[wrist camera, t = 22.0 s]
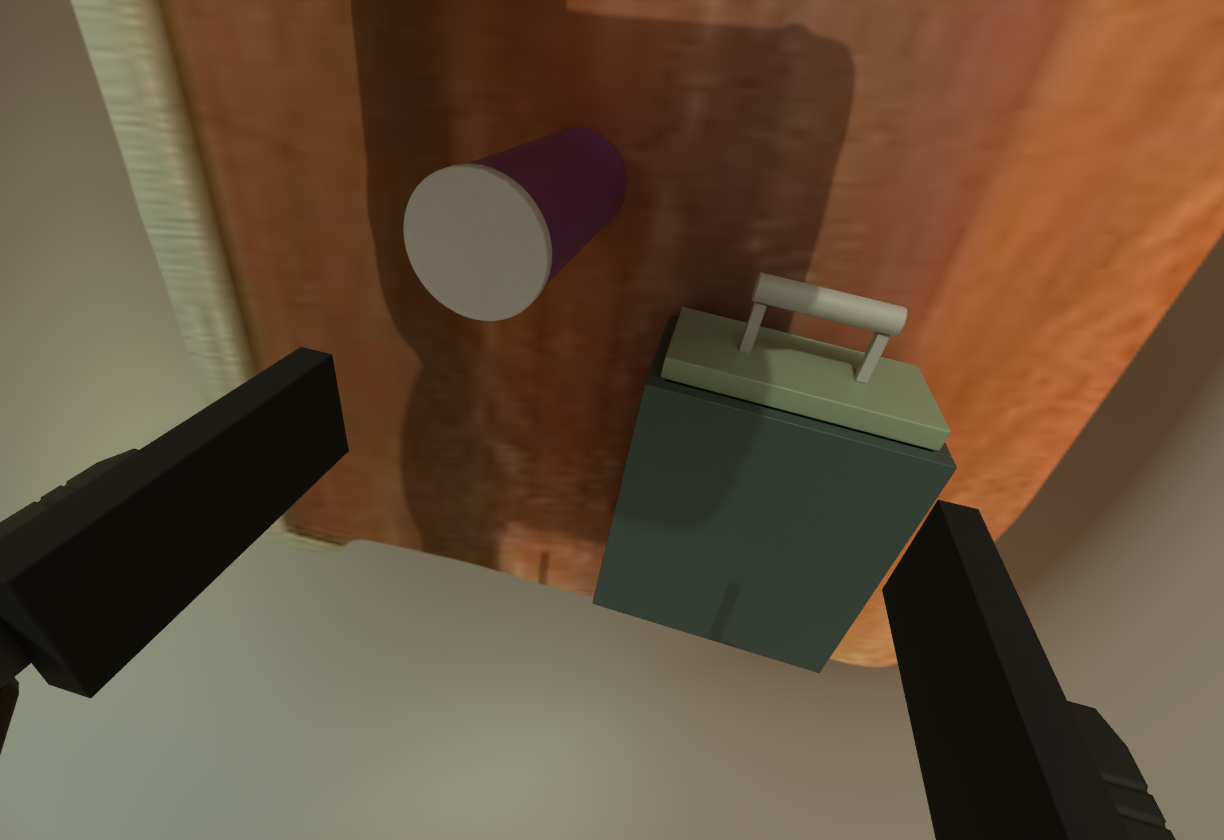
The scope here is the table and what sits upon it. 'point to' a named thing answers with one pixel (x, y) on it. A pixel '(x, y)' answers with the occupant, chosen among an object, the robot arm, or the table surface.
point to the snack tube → (511, 220)
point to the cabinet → (758, 520)
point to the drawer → (809, 364)
